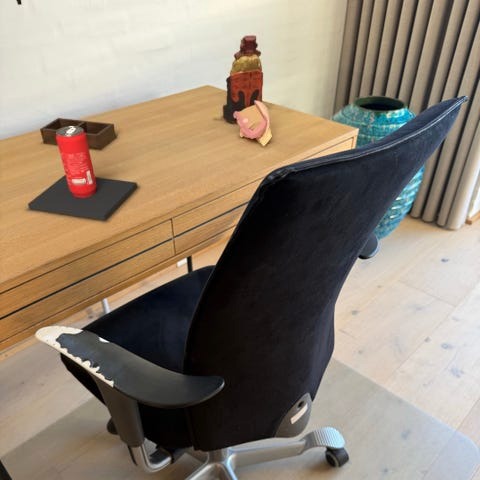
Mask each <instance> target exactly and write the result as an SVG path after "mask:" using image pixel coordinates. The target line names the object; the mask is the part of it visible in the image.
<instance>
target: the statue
mask: <svg viewBox="0 0 480 480" xmlns="http://www.w3.org/2000/svg"><path fill="white" fill-rule="evenodd" d="M258 46H259V44H258V42H257V35H251V34H250V35H244V36H243V37H242V38H240V44H239V50H238V51H237V52H235V53H234V54H233V57H234V60H233V61H232V64H231V69H230V71H229V76H228V77H226V79H225V82H226V103H225V104H223V105H222V117H223V119H224V120H225V121H226V122H227V123H229V124H238V123H237V119H236V118H234V115H233V114H234V112H235V111H236V112H240V111H242V110H244V109H245V108H248V107H251V106H253V105H255V103H254V101H260V102H262V103H263V86H264V72H263V66H262V61H261V59H260V56H261V55H262V51H260V50H258V49H257V48H258Z"/></svg>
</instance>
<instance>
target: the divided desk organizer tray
mask: <svg viewBox="0 0 480 480" xmlns="http://www.w3.org/2000/svg"><path fill="white" fill-rule="evenodd" d="M69 126H77V127H81V128H82V129H83V131H84V132H85V134H86V138H87V143H88V147H89V150H96V151H101V150H103V149H104V148H105V147H106V146H108V145H109V144H110V143H112V142H113V141H114V140H115V139H116V138H117V134H116V129H115V124H114V123H109V122H99V121H91V120H90V121H89V120H82V119H71V118H63V117H57V118H55V119H54V120H52V121H51V122H49V123H47V124H46V125H44V126H43V127H41V128H40V129H39V131H40V134H41V138H42V141H43V144H47V145H57V146H58V143H57V139H56V135H57V134H56V132H57V130H59V129H61V128H63V127H69Z"/></svg>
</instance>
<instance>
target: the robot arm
mask: <svg viewBox="0 0 480 480" xmlns="http://www.w3.org/2000/svg"><path fill="white" fill-rule="evenodd" d="M16 3H17V6H21V5H22V0H16Z"/></svg>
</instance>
